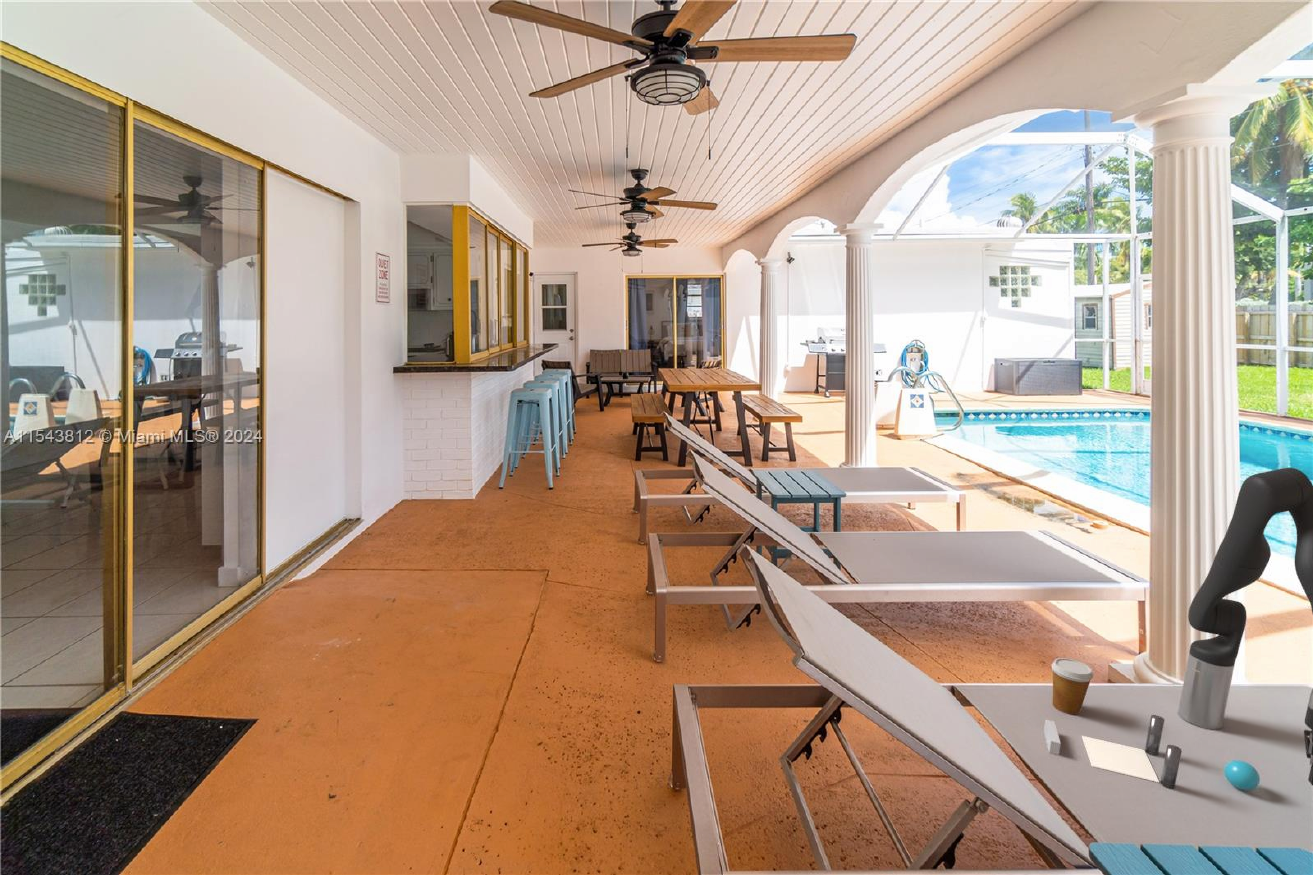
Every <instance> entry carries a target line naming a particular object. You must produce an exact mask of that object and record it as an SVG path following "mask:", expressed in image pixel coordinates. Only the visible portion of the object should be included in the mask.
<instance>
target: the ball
mask: <svg viewBox="0 0 1313 875" xmlns="http://www.w3.org/2000/svg"><path fill="white" fill-rule="evenodd" d="M1223 771H1224V776H1225V778H1226V780H1227V782H1229V783H1230V785H1232V786H1233V787H1234V788H1237V789H1239V790H1242V791H1251V790H1254V789H1256V788H1257V787H1258V786H1259V784H1260V781H1261V780H1260V779H1261V778H1260V774H1259V772H1258V771H1257V769H1256V768H1255V767H1254V766H1253V765H1252V764H1250V763H1249V762H1247V761H1245V760H1241V759H1240V760H1239V759H1236V760H1231V761H1229V762H1227V763H1226V765H1225V766H1224V769H1223Z"/></svg>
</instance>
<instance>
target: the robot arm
mask: <svg viewBox="0 0 1313 875" xmlns="http://www.w3.org/2000/svg"><path fill="white" fill-rule="evenodd" d="M1237 495H1238V496H1237V500H1236V503H1235V507H1234V510H1233V514H1232V518H1231V520H1230V522H1229V524H1228V525H1229V526H1228V527H1227V529H1226V531H1225V534H1224V537H1223V539H1222V541H1221V543H1220V545H1219V546H1218V550H1217V551H1216V554H1215V556H1214V559H1213V562H1212V564H1211V567H1210V568H1209V572H1208V573H1207V575H1206V577H1205V579H1204V581H1203V583H1202V584H1201V586H1200V587H1199V589H1198V591H1197V592H1196V594H1195V595H1194V597H1193V599H1192V601H1191V603H1190V605H1189V606H1190V607H1189V609H1188V616H1187V617H1188V622H1189V625H1190V626H1191V627H1192V629H1194V630H1196V631H1199V632H1202V633H1208V634H1212V635H1215V637H1211V638H1207V639H1198V640H1194V641H1193V642H1191V644H1190V646H1189V647H1190V648H1189V652H1188V658H1187V664H1186V669H1185V673H1184V679H1183V685H1182V690H1181V695H1180V700H1179V703H1178V704H1179V705H1178V709H1177V710H1178V711H1177V714H1178V716H1179V717H1180V718H1182V719H1183V720H1185V721H1187V723H1190V724H1192V725H1195V726H1197V727H1200V728H1205V729H1209V730H1219V729H1222V727H1223V724H1224V718H1225V714H1226V708H1227V704H1228V699H1229V694H1230V689H1231V684H1232V680H1233V674H1234V670H1235V664H1236V659H1237V658H1238V657H1237V656H1238V654H1239V650H1240V647H1241V642H1242V639H1243V636H1244V632H1245V628H1246V625H1247V618H1248V617H1247V610H1246V607H1245V606H1244V604H1243V603H1242V602H1240V601H1238V600H1235V599H1233V600H1232V599H1227V598H1225V597H1226V596H1228V595H1230V594H1232V593H1235V592H1238V591H1240V590H1241V589H1244V588H1246V587H1248V586H1250V585H1252V584H1254V583H1255V582H1256V581H1258V579H1260V578H1261V577H1262V575H1263V573H1264V571H1265V570H1266V567H1267V566H1268V564H1269V561H1270V559H1271V556H1272V552H1271V551H1272V550H1271V547H1270V545H1269V543H1268V541H1267V538H1266V536H1265V535H1264V534H1265V530H1266V527H1267V526H1268V523H1270V522H1269V521H1271V519H1272V518H1273V516H1275V515H1276V514H1281V513H1287V512H1289V514H1290V516H1291V518H1292V521H1293V522H1294V526H1295V529H1296V530H1295V531H1296V545H1295V552H1294V570H1295V573H1296V576H1297V578H1298V581H1299V583H1300V585H1301V588H1302V589H1303V592H1304V594H1305V595H1306V597H1307V599H1308V601H1309V603H1310V608H1311V614H1312V615H1313V483H1312V481H1311V479H1310V478H1309V477H1308V476H1307V475H1306V474H1305V473H1304V472H1303V471H1301V470H1300V469H1298V468H1294V467H1283V468H1278V469H1272V470H1268V471H1264V472H1263V471H1262V472H1259V473H1254V474H1252V475H1250V476H1248V477H1246V478H1245V479H1244V481H1243V482H1242V484H1241V486H1240V489H1239V491H1238V494H1237ZM1306 707H1307V709H1306V713H1305V716H1304V724H1305V726H1307V728H1309V729H1311V730H1309V729H1304V730H1303V735H1304V737H1303V738H1304V745H1305V753H1306V758H1307V759H1309V765H1310V770H1309V774H1308V779H1307V780H1308V782H1309V784H1311V786H1313V688H1312V689H1311V692H1310V694H1309V699H1308V703H1307V706H1306Z"/></svg>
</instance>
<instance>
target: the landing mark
mask: <svg viewBox="0 0 1313 875" xmlns="http://www.w3.org/2000/svg"><path fill="white" fill-rule="evenodd" d="M1081 738H1082V741H1083V742H1082V743H1083V745H1084V747H1085V750H1086V754H1087V756H1088V759H1089V761H1090V762H1089V763H1090V765H1091V767H1092V768H1097V769H1101V770H1105V771H1108V772H1112V773H1117V774H1122V775H1125V776H1130V777H1134V778H1137V779H1141V778H1142V779H1141V780H1145V779H1146V781H1150V782H1153V781H1154V783H1157V784H1160V781H1159V779H1158V777H1157V774H1156V772H1155V770H1154V767H1153V766H1152V765H1153V764H1151V762H1150V758H1149V757H1148V755H1147V753H1146V752H1145V749H1140V748H1137V747H1132V746H1129V745H1123V744H1119V743H1114V742H1112V741H1111V742H1110V741H1106V740H1103V739H1098V738H1094V737H1089V736H1085V735H1081Z"/></svg>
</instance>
